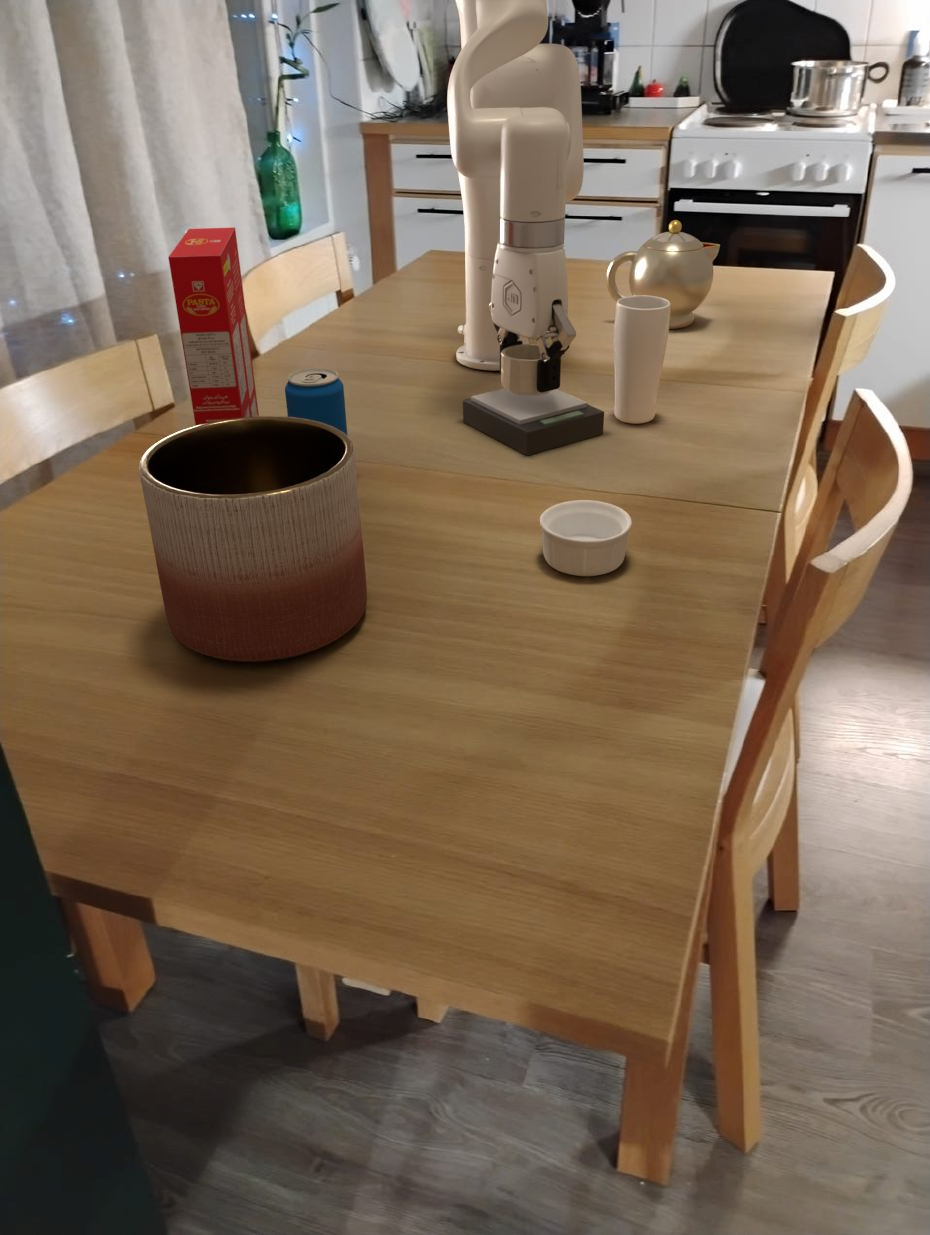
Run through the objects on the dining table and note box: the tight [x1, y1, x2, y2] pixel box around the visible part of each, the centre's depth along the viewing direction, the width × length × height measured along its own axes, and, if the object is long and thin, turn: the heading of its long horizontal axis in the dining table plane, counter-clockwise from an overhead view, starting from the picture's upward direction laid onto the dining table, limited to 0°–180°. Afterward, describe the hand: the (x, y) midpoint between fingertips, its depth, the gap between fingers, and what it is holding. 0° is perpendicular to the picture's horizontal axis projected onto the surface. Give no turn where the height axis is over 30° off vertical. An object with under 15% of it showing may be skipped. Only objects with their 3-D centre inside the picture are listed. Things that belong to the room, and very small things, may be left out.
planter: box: [138, 415, 368, 663], centre depth 87 cm, size 18×18×16 cm
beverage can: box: [284, 367, 348, 436], centre depth 114 cm, size 6×6×12 cm
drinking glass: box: [613, 295, 671, 425], centre depth 128 cm, size 7×7×15 cm
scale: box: [462, 387, 605, 457], centre depth 128 cm, size 14×12×4 cm
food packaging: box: [167, 227, 260, 426], centre depth 116 cm, size 15×5×25 cm, turn 5°
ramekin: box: [539, 499, 633, 577], centre depth 98 cm, size 9×9×4 cm
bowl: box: [500, 343, 552, 396], centre depth 126 cm, size 7×7×5 cm
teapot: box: [605, 219, 721, 330], centre depth 165 cm, size 18×14×16 cm
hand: (529, 380), depth 126 cm, fingers closed on bowl, 7 cm apart
